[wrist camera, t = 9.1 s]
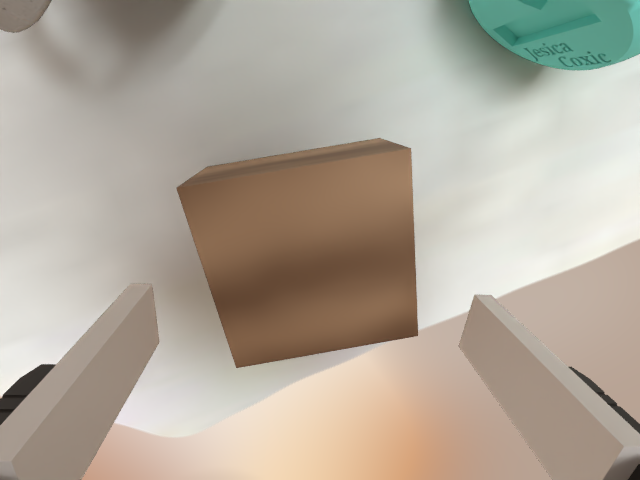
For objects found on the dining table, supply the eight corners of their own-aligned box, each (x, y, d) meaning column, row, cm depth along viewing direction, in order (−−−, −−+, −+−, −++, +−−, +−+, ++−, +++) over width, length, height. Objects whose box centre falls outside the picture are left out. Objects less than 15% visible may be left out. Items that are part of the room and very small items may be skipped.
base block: (208, 166, 20) (176, 188, 15) (378, 137, 20) (410, 148, 15) (249, 309, 24) (236, 368, 19) (389, 284, 25) (418, 335, 19)
